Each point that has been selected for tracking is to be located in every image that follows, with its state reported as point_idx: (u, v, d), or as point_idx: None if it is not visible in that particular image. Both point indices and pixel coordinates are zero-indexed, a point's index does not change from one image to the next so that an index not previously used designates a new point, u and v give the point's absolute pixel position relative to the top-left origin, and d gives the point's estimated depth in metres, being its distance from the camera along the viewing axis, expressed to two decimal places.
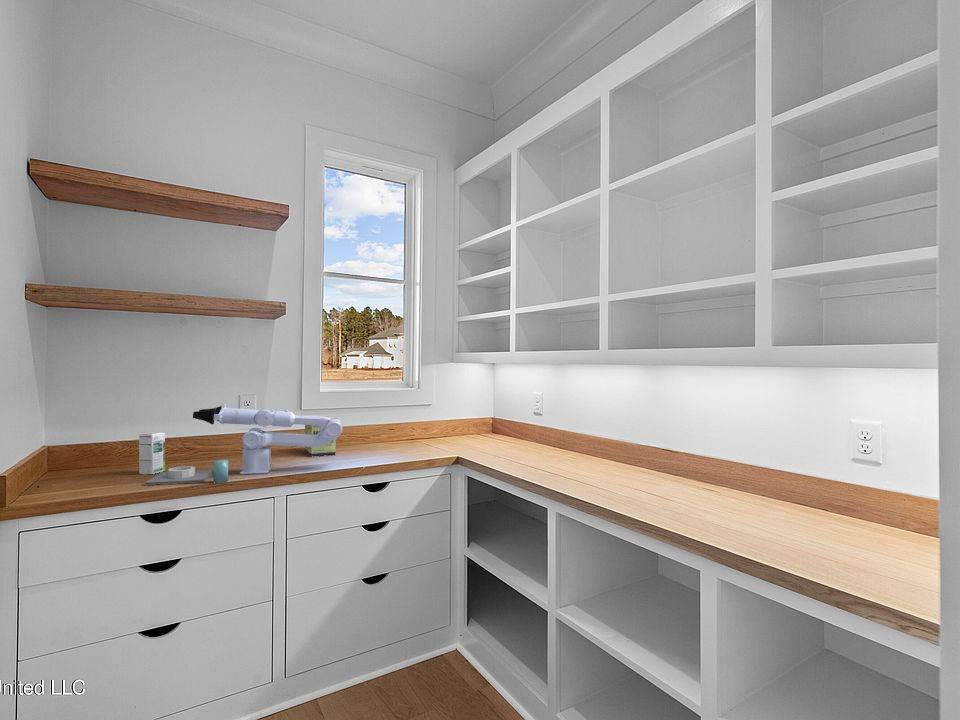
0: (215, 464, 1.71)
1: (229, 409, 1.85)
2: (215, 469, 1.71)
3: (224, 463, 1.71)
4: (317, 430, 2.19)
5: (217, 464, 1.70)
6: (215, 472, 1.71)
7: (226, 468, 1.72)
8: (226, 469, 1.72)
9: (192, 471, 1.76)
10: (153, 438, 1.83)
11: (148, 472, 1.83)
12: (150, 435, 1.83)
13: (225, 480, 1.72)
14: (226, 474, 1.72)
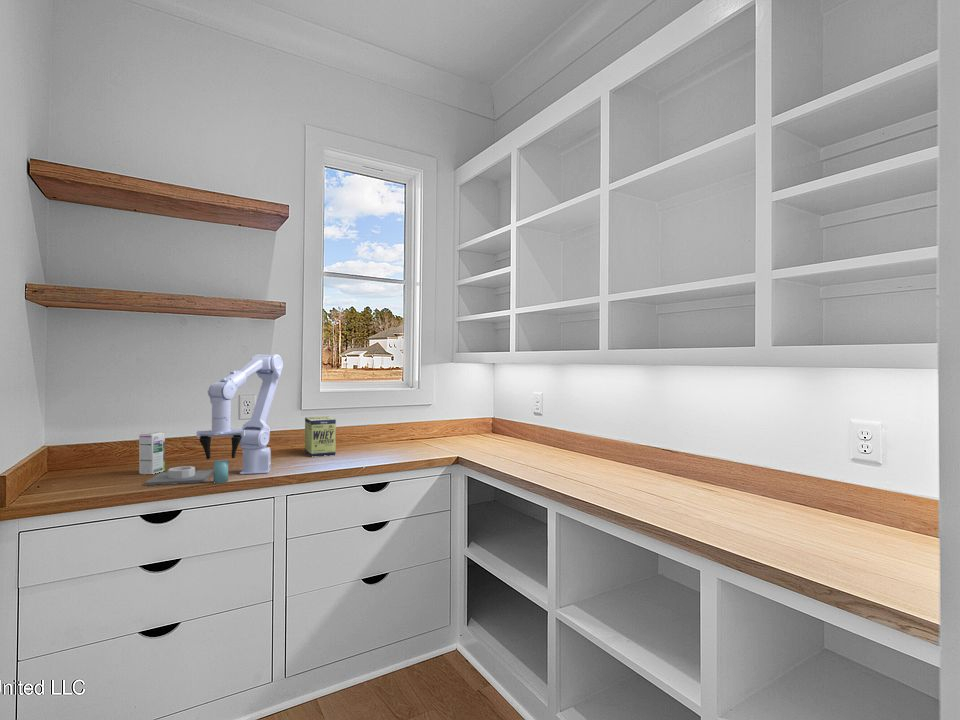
0: (215, 464, 1.71)
1: (224, 426, 1.71)
2: (215, 469, 1.71)
3: (224, 463, 1.71)
4: (317, 430, 2.19)
5: (217, 464, 1.70)
6: (215, 472, 1.71)
7: (226, 468, 1.72)
8: (226, 469, 1.72)
9: (192, 471, 1.76)
10: (153, 438, 1.83)
11: (148, 472, 1.83)
12: (150, 435, 1.83)
13: (225, 480, 1.72)
14: (226, 474, 1.72)
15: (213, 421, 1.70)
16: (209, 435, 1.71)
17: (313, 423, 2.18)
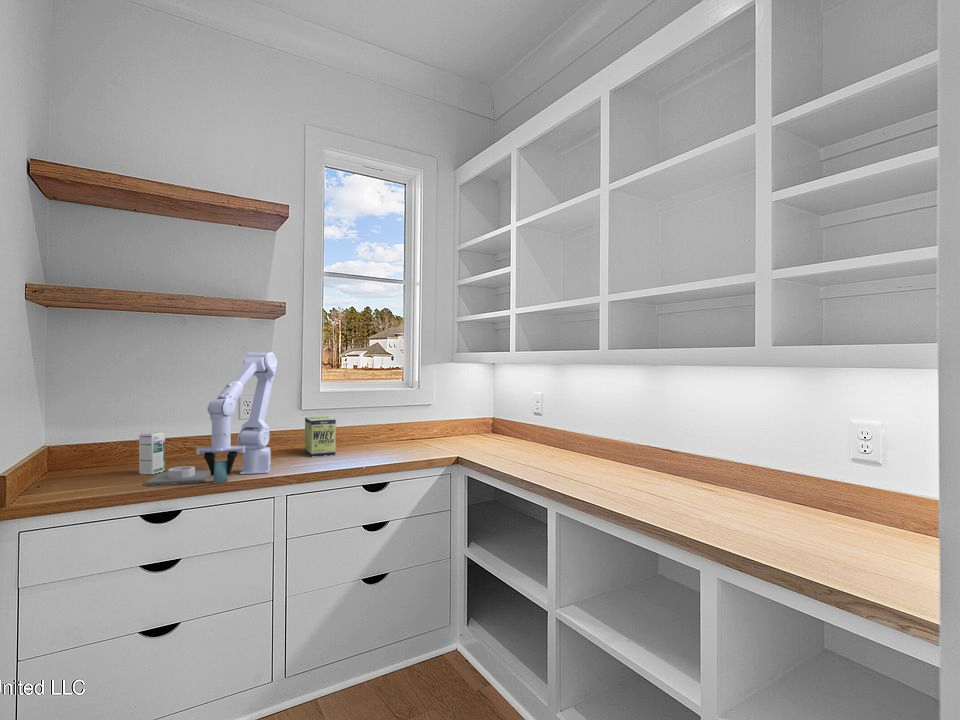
0: (215, 464, 1.71)
1: (224, 443, 1.71)
2: (215, 469, 1.71)
3: (224, 463, 1.71)
4: (317, 430, 2.19)
5: (217, 464, 1.70)
6: (215, 472, 1.71)
7: (226, 468, 1.72)
8: (226, 469, 1.72)
9: (192, 471, 1.76)
10: (153, 438, 1.83)
11: (148, 472, 1.83)
12: (150, 435, 1.83)
13: (225, 480, 1.72)
14: (226, 474, 1.72)
15: (213, 438, 1.70)
16: (209, 452, 1.71)
17: (313, 423, 2.18)
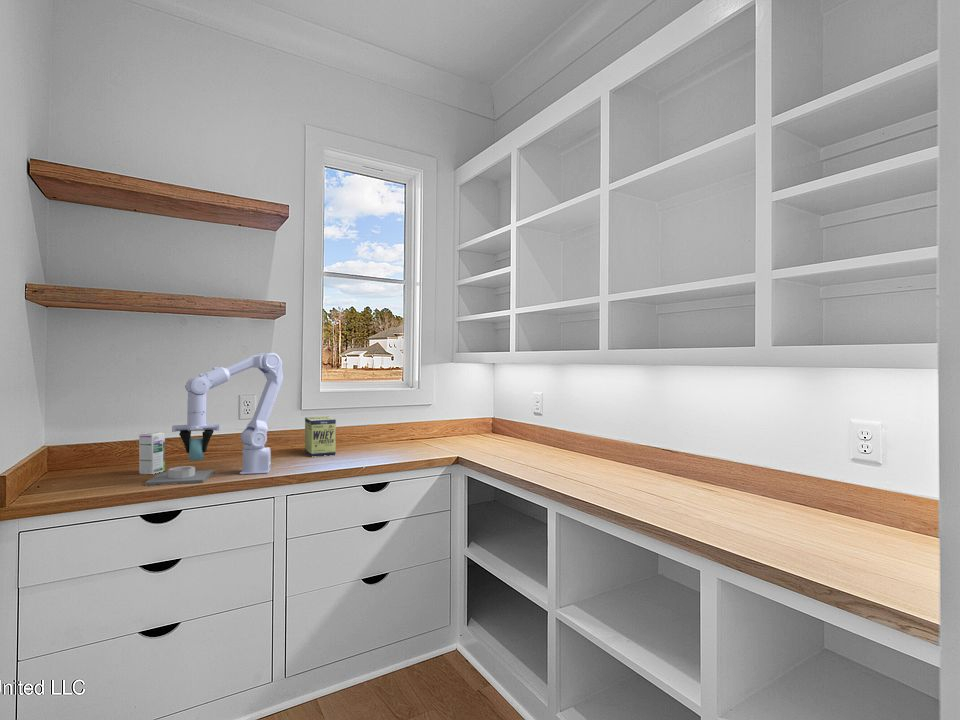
0: (191, 441, 1.73)
1: (199, 420, 1.73)
2: (191, 446, 1.73)
3: (200, 441, 1.74)
4: (317, 430, 2.19)
5: (193, 442, 1.73)
6: (191, 449, 1.73)
7: (202, 446, 1.74)
8: (202, 447, 1.74)
9: (192, 471, 1.76)
10: (153, 438, 1.83)
11: (148, 472, 1.83)
12: (150, 435, 1.83)
13: (201, 457, 1.74)
14: (202, 452, 1.74)
15: (188, 415, 1.73)
16: (185, 429, 1.74)
17: (313, 423, 2.18)
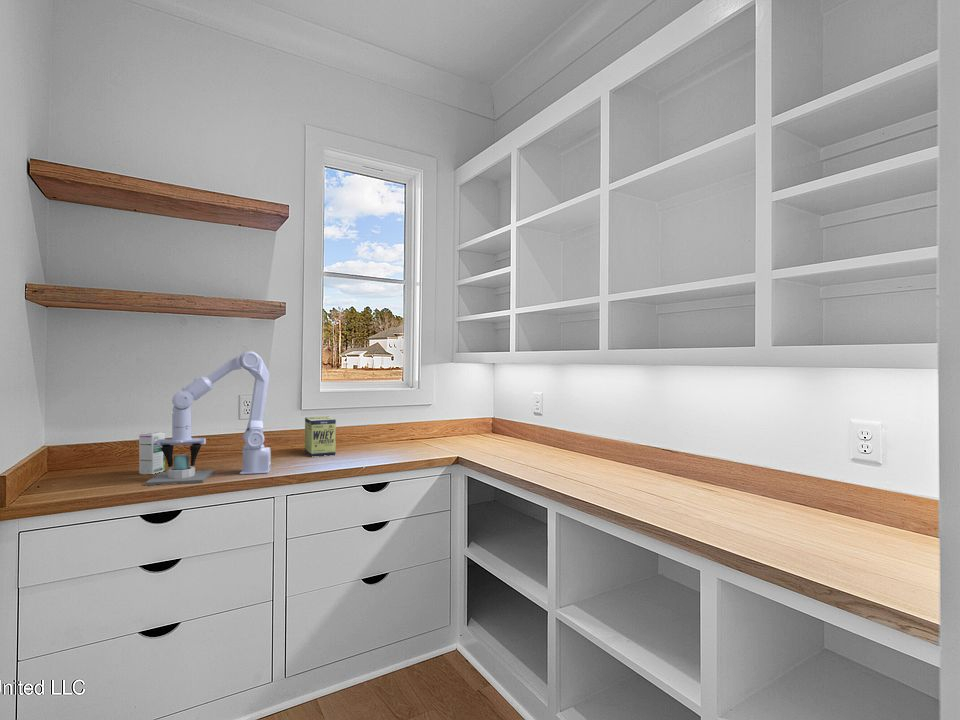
0: (175, 458, 1.74)
1: (184, 435, 1.75)
2: (175, 463, 1.74)
3: (184, 457, 1.75)
4: (317, 430, 2.19)
5: (177, 459, 1.74)
6: (175, 466, 1.74)
7: (186, 462, 1.76)
8: (186, 463, 1.76)
9: (192, 471, 1.76)
10: (153, 438, 1.83)
11: (148, 472, 1.83)
12: (150, 435, 1.83)
13: None
14: (186, 468, 1.76)
15: (173, 430, 1.74)
16: (170, 443, 1.75)
17: (313, 423, 2.18)
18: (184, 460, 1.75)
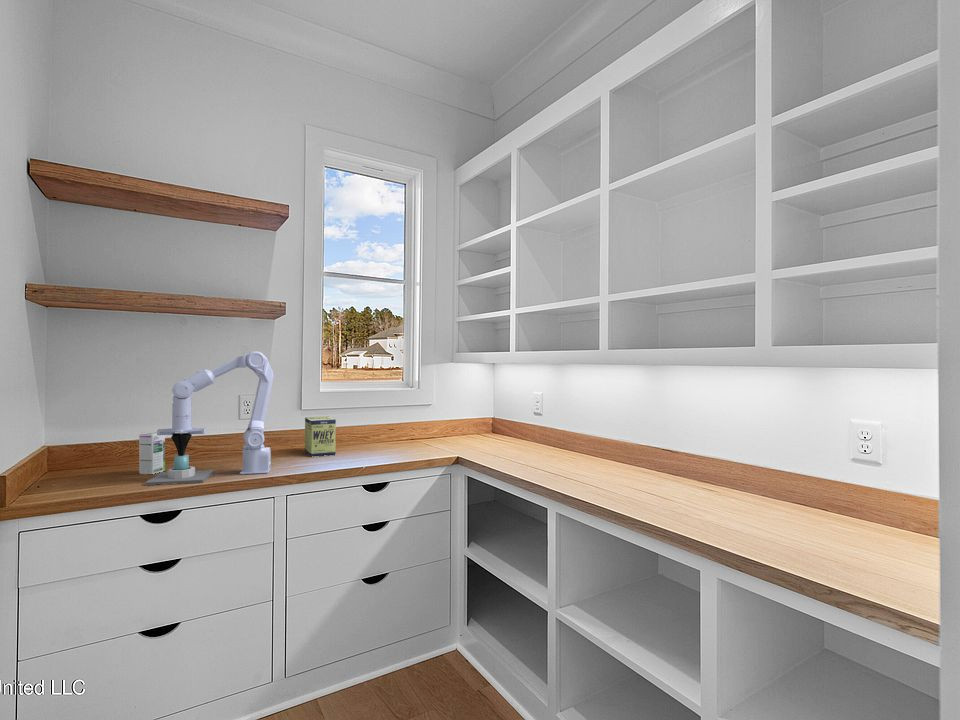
0: (175, 458, 1.74)
1: (184, 424, 1.75)
2: (175, 463, 1.74)
3: (184, 457, 1.75)
4: (317, 430, 2.19)
5: (177, 459, 1.74)
6: (175, 466, 1.74)
7: (186, 462, 1.76)
8: (186, 463, 1.76)
9: (192, 471, 1.76)
10: (153, 438, 1.83)
11: (148, 472, 1.83)
12: (150, 435, 1.83)
13: None
14: (186, 468, 1.76)
15: (173, 419, 1.74)
16: (170, 433, 1.75)
17: (313, 423, 2.18)
18: (184, 460, 1.75)
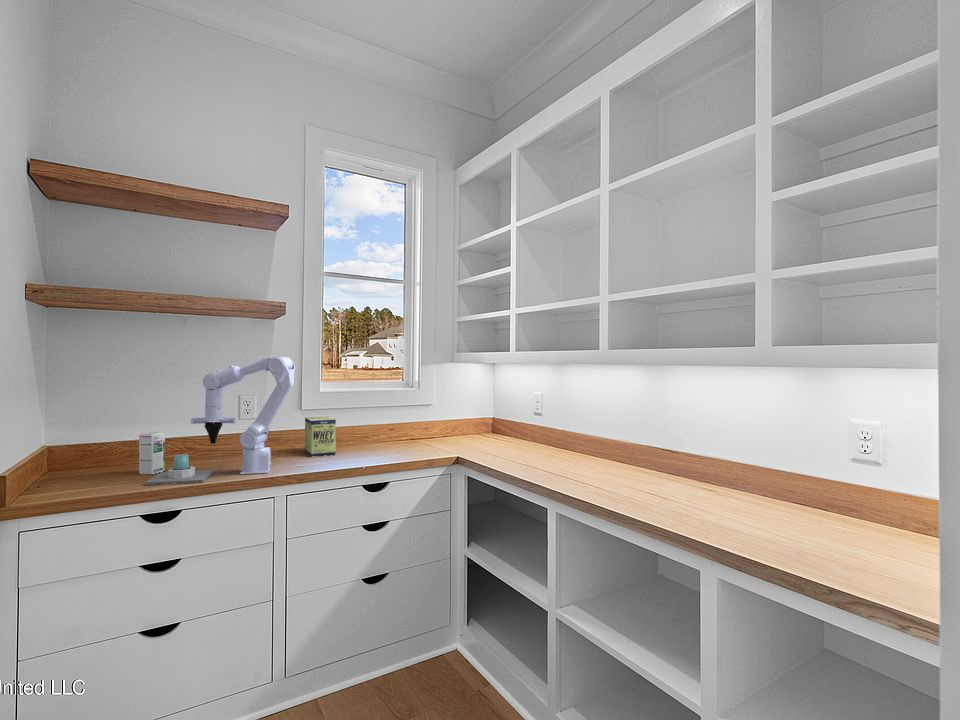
0: (175, 458, 1.74)
1: (216, 414, 1.86)
2: (175, 463, 1.74)
3: (184, 457, 1.75)
4: (317, 430, 2.19)
5: (177, 459, 1.74)
6: (175, 466, 1.74)
7: (186, 462, 1.76)
8: (186, 463, 1.76)
9: (192, 471, 1.76)
10: (153, 438, 1.83)
11: (148, 472, 1.83)
12: (150, 435, 1.83)
13: None
14: (186, 468, 1.76)
15: (206, 409, 1.86)
16: (202, 422, 1.87)
17: (313, 423, 2.18)
18: (184, 460, 1.75)
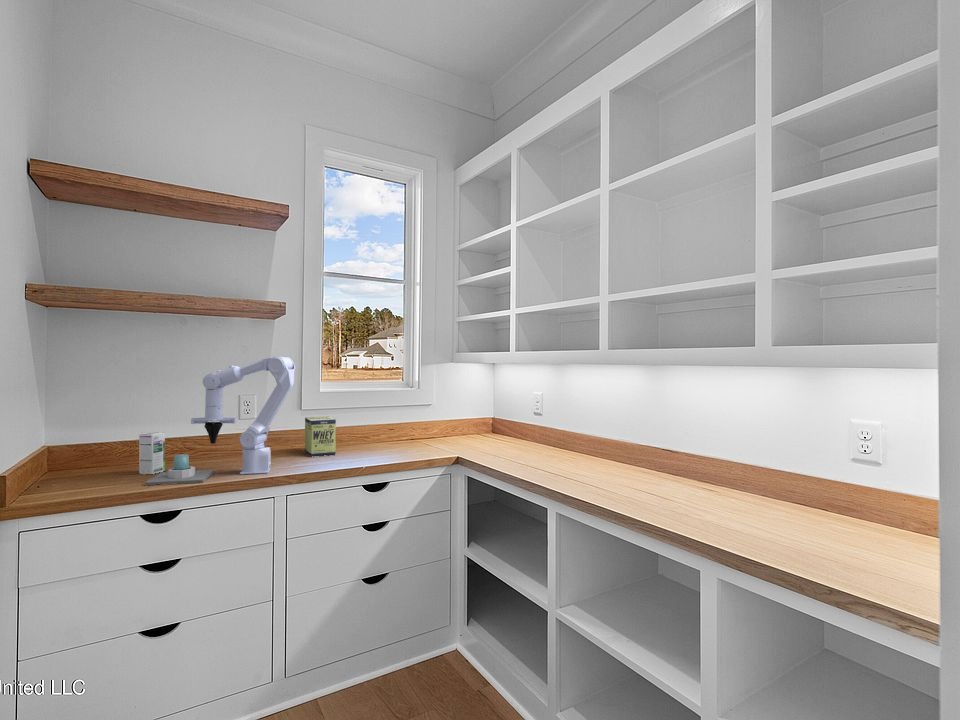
0: (175, 458, 1.74)
1: (216, 414, 1.86)
2: (175, 463, 1.74)
3: (184, 457, 1.75)
4: (317, 430, 2.19)
5: (177, 459, 1.74)
6: (175, 466, 1.74)
7: (186, 462, 1.76)
8: (186, 463, 1.76)
9: (192, 471, 1.76)
10: (153, 438, 1.83)
11: (148, 472, 1.83)
12: (150, 435, 1.83)
13: None
14: (186, 468, 1.76)
15: (206, 409, 1.86)
16: (203, 422, 1.87)
17: (313, 423, 2.18)
18: (184, 460, 1.75)
